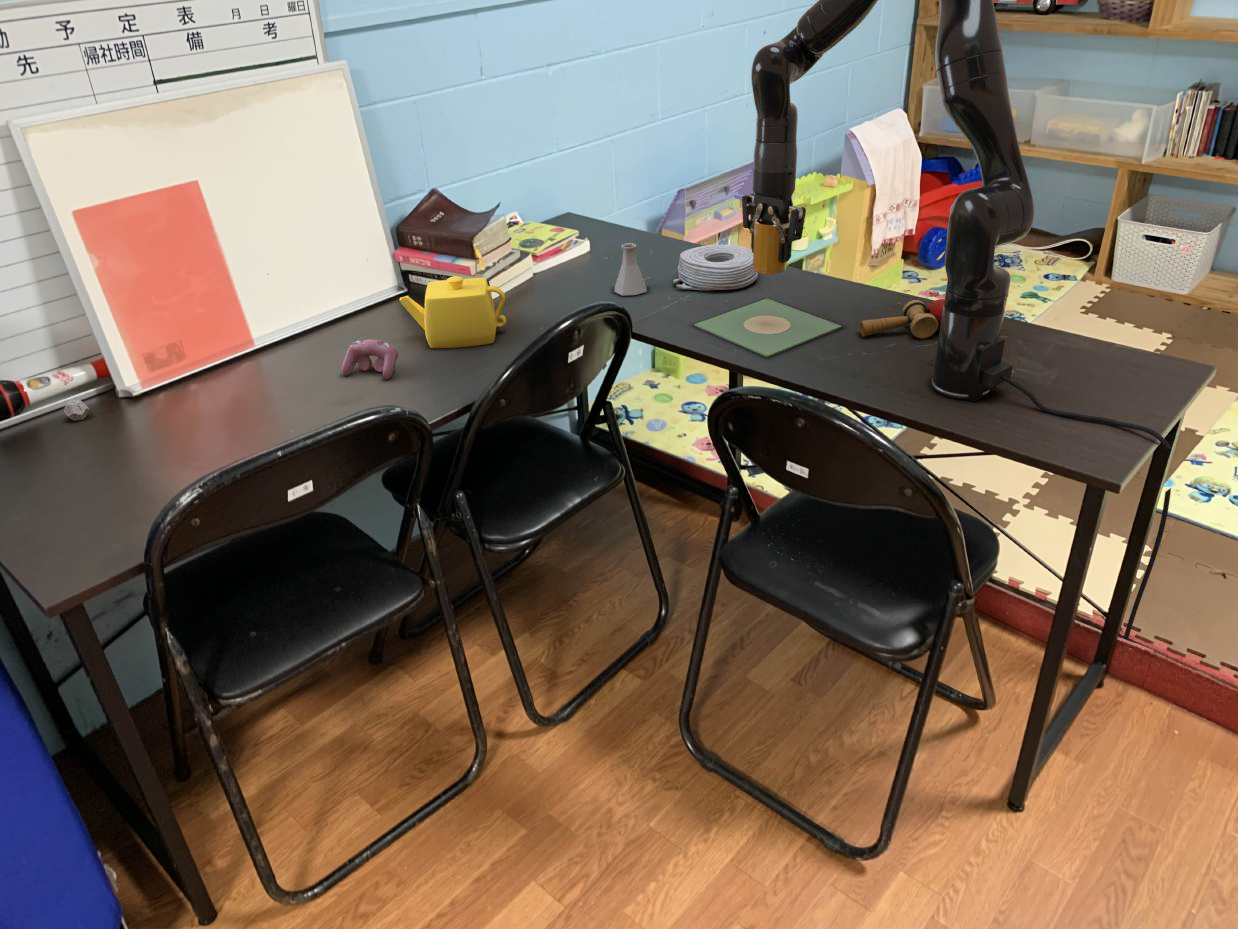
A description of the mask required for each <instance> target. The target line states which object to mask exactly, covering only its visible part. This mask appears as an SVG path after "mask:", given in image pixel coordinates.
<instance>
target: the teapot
mask: <svg viewBox="0 0 1238 929" xmlns="http://www.w3.org/2000/svg"><path fill="white" fill-rule="evenodd" d="M492 293H495V294H498V295H499V303H498V305H497V308H496V307H495V303H494V299H493V295H492ZM398 302H399V303H400V304H401V305H402V306H403V307H404V308H405V310H406V311H407V312H408V313H409V314H410V315H411V317H412V318H413V319H414V320H415V321H416V322H417V324H418V325H419V326H420V327H421V328H422V329H423V330H424V333H425V334H424V335H425V338H426V342H427V343H428V346H429V347H430V349H456V348H457V349H458V348H467V347H468V348H469V347H476V346H477V347H478V346H486V345H490V344H493V343H494V342H495V339H496V334H497V333H496V332H497V328H502V327H504V326H505V325H506V323H507V317H506V316H505V314H504V315H503V314H501V312H502V310H503V308H504V306H505V303H506V295H505V292H504V291H503V290H502V289H501V288H500V287H498V286H495V285H489V282H488V281H487V279H486V278H485V277H467V278H466V277H465V278H463V277H462V276H460V275H459V276H458V275H455V276H450V277H448V278H447V279H441V280H435V281H429V282H428V283H427V286H426V289H425V294H424V307H423V306H422V305H420V304H419V303H417V302H416V301H415V300H414V299H412V298H411V297H410V296H409V295H405V296H402V297H399V299H398ZM495 308H496V309H495ZM499 319H501V321H498V320H499Z"/></svg>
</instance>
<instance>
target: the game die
mask: <svg viewBox="0 0 1238 929" xmlns="http://www.w3.org/2000/svg"><path fill="white" fill-rule="evenodd" d="M89 410H90V408H89V407H88V406H87V405H86V403H85V402H83V401H82V400H81V399H79V398H78V399H71V400H69V401H68V402H66V403H65V406H64V409H63V413H64V414H65V415H66V416H67V417H68V418H69V419H70V420H72V421H73V422H75V421H83V420H84V419H85V418H86V417H87V416H88V413H89Z"/></svg>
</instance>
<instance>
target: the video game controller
mask: <svg viewBox="0 0 1238 929" xmlns="http://www.w3.org/2000/svg"><path fill="white" fill-rule="evenodd" d="M372 356H373V357H377V358H376V359H375V361H374V363H373V361H372V358H371V357H372ZM398 359H399V351H398V349H397V347H396V346H394V345H392V344H390V343H388V342H386V341H383V340H379V339H373V338H372V339H371V338H370V339H362V340H356V341H353V342H352V343H351V344H350V346H349V347H348V348H347V351H346V353H345V357H344V359H343V362H342V365H341V372H342V375H343V376H344V377H347V376H349V375H351V373H352V372H353V370H354V369H355V367H356V364H357V365H358V367H359V369H360V370H361V371H369V370H371V369H372V368H374V370H375V371H376V372H380V373H382V376H383V378H384V380H389V379H391V377H392V376H393V374H394V372H395V369H396V365H397V364H396V363H397V360H398Z"/></svg>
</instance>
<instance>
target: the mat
mask: <svg viewBox="0 0 1238 929" xmlns="http://www.w3.org/2000/svg"><path fill="white" fill-rule="evenodd" d="M693 327H695V328H697V329H700V330H702V331H704V332H707V333H709V334H711V335H714V336H715V337H718V338H721V339H723V340H726V341H728V342H730V343H733V344H734V345H736V346H739V347H742V348H744V349H746V350H747V351H748V350H749V351H751V352H753V353H756V354H757V355H760V356H763V357H765V358H770V357H772V356H775V355H777V354H780V353H783V352H785V351H787V350H789V349H792V348H795V347H797V346H800V345H802V344H805V343H807V342H810V341H812V340H815V339H817V338H820V337H822V336H825V335H827V334H830V333H832V332H835V331H837V330H840V329H842V327H843V326H842V325H840V324H838V323H835V322H832V321H829V320H827V319H825V318H821V317H818V316H815V315H813V314H810V313H807V312H805V311H802V310H799V309H797V308H794V307H791V306H789V305H786V304H784V303H780V302H778V301H775V300H773V299H769V298H764V299H761V300H758V301H756V302H753V303H750V304H747V305H744V306H741V307H739V308H736V309H732V310H730V311H727V312H725V313H722V314H719V315H716V316H714V317H711V318H707V319H705V320H702V321H700V322H696V323H694V324H693Z"/></svg>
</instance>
